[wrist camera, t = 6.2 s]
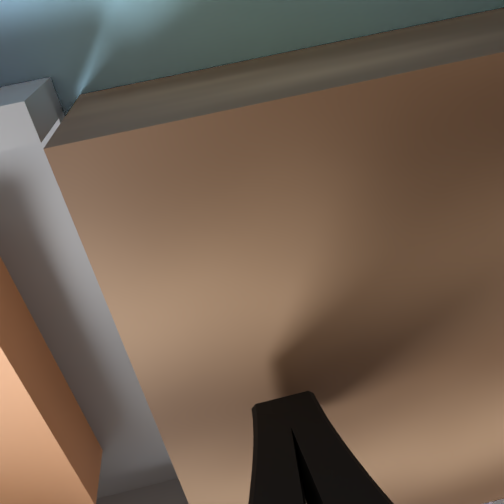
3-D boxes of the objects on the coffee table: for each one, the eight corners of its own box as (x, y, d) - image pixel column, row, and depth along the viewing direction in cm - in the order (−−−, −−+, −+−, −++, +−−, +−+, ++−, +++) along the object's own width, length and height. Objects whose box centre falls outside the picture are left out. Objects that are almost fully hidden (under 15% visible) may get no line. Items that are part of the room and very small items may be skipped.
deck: (596, 365, 19) (690, 449, 16) (207, 462, 18) (217, 573, 15) (715, -37, 12) (936, -39, 9) (79, 94, 11) (43, 148, 8)
